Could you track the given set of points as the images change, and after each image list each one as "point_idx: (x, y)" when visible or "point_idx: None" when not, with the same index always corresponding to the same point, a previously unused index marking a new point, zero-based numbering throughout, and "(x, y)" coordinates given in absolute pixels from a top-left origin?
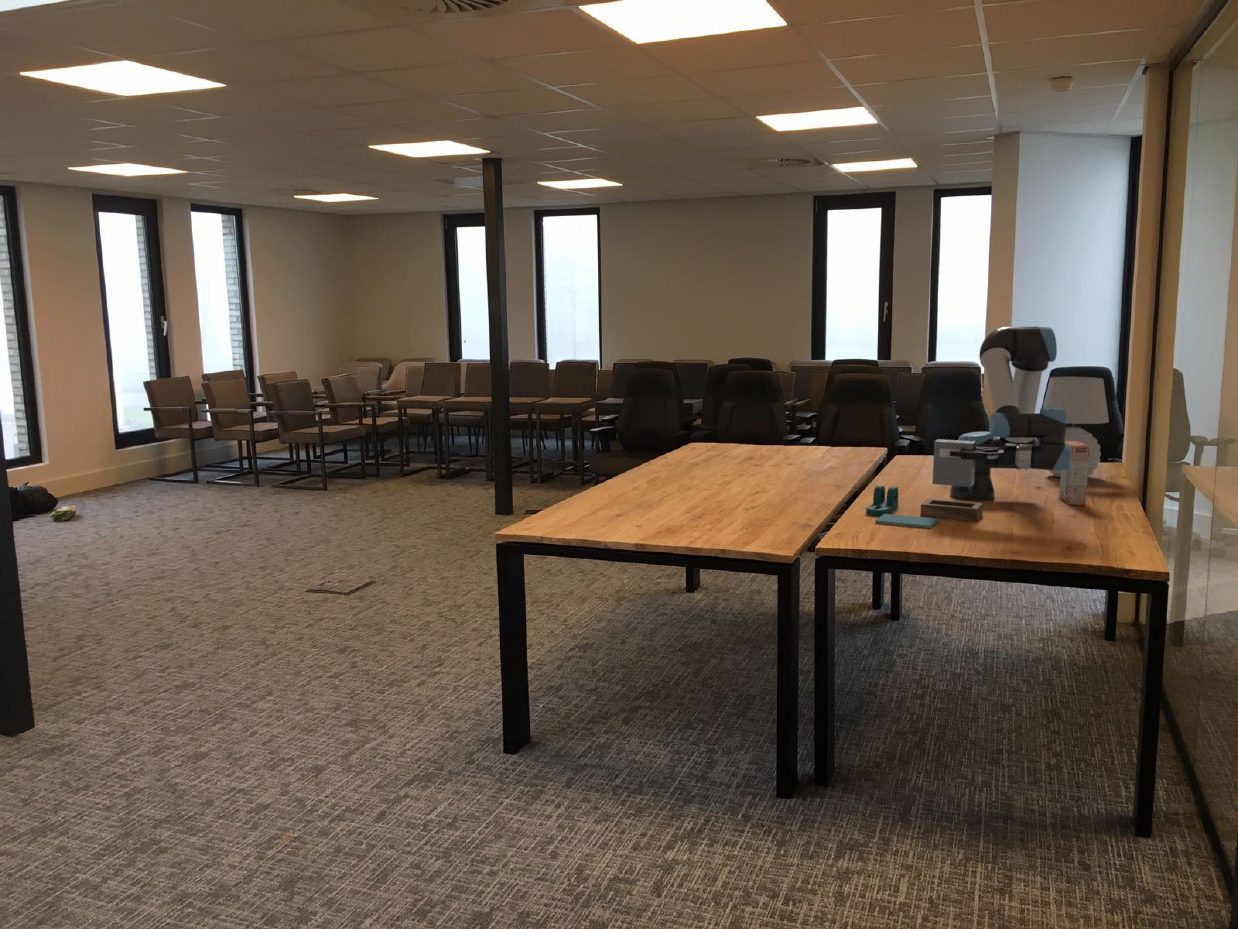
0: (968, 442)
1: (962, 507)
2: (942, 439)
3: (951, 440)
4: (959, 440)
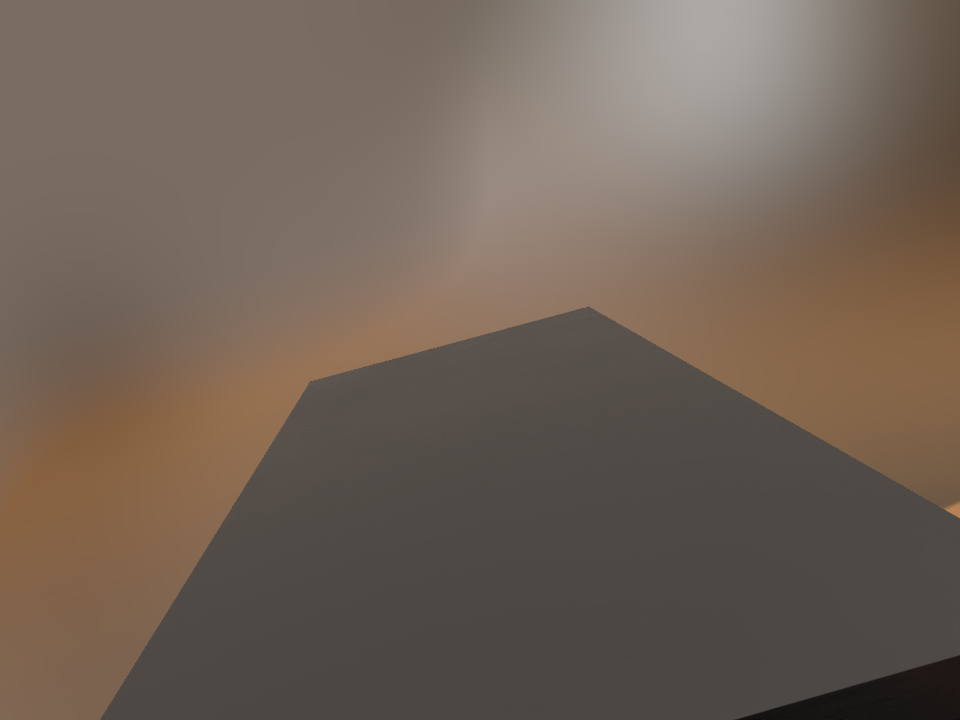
0: (421, 611)
1: None
2: (600, 317)
3: (578, 366)
4: (709, 381)
